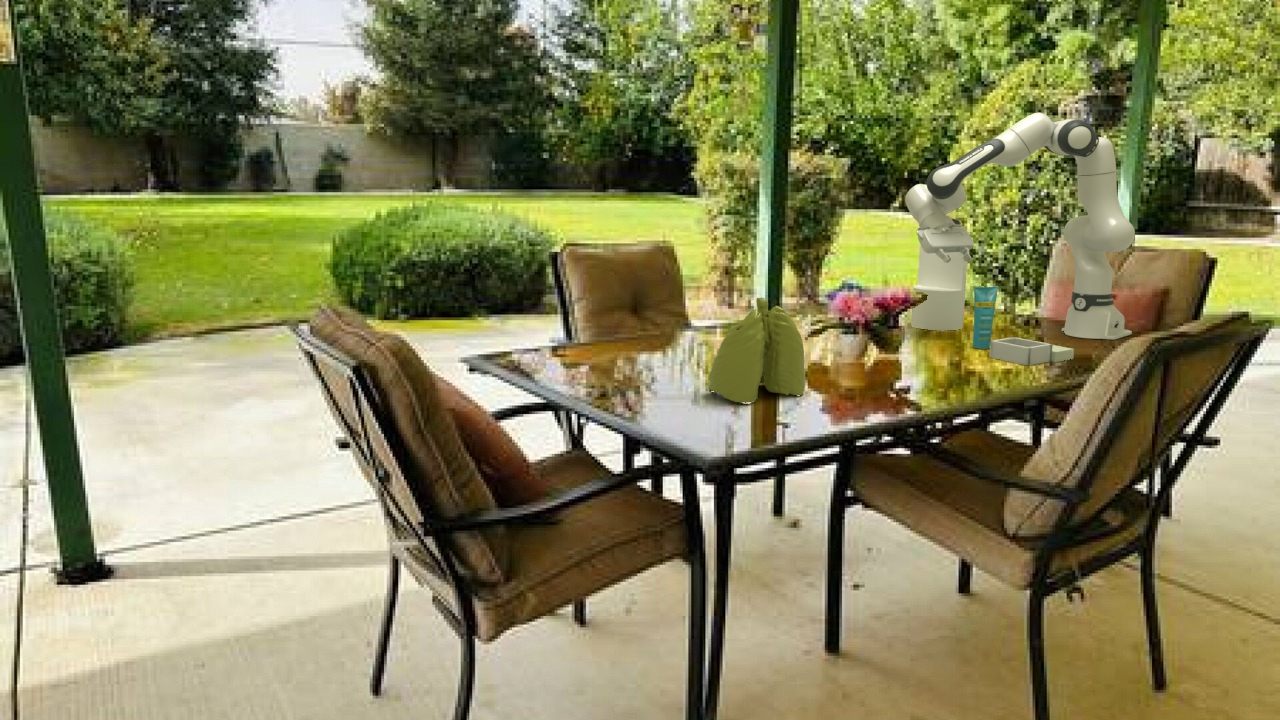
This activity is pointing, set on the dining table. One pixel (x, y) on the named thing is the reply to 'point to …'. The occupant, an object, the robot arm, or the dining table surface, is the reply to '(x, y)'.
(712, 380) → the lungs
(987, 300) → the tube
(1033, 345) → the grey open tray
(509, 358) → the dining table surface
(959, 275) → the white chair
